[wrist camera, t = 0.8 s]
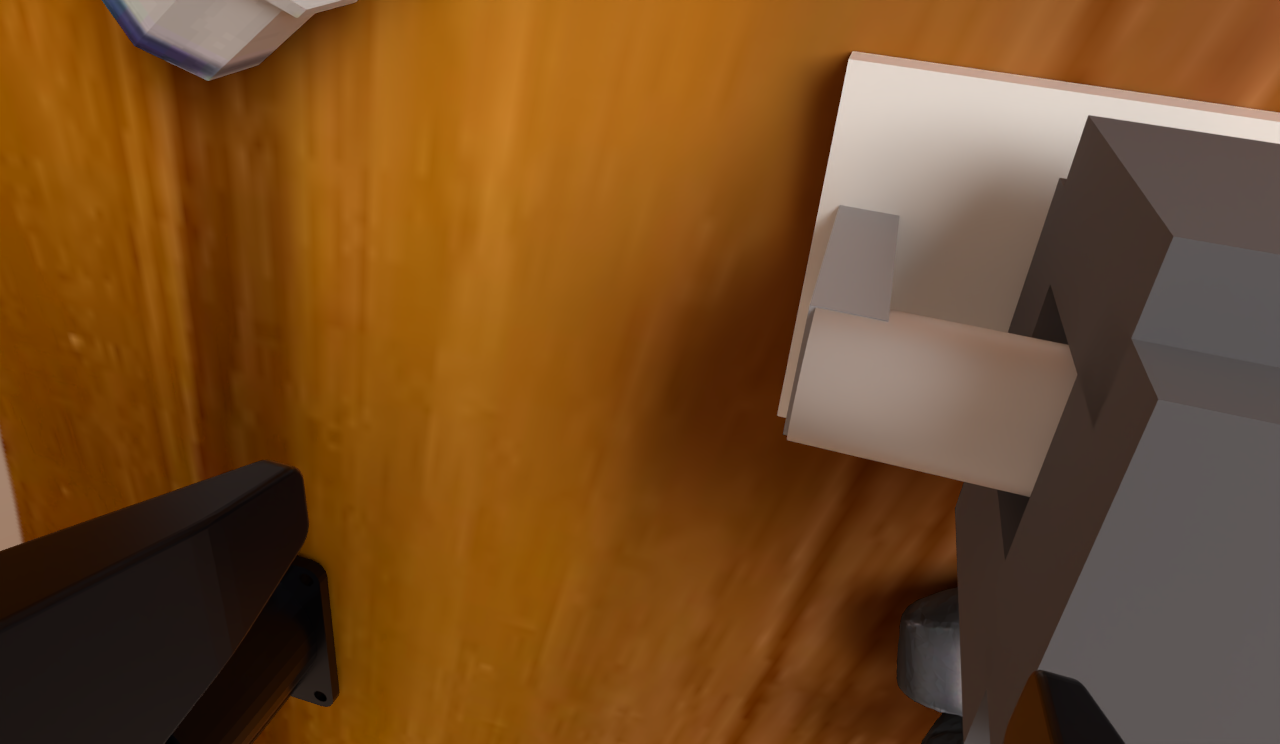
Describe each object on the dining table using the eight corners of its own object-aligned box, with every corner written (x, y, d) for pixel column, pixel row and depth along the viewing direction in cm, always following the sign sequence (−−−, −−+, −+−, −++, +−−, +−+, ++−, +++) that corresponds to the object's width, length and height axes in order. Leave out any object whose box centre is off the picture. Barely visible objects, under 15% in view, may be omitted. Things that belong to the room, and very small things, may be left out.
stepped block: (1105, 527, 18) (1207, 902, 11) (954, 491, 19) (966, 828, 12) (1281, 137, 14) (1597, 357, 7) (1083, 107, 15) (1208, 286, 8)
